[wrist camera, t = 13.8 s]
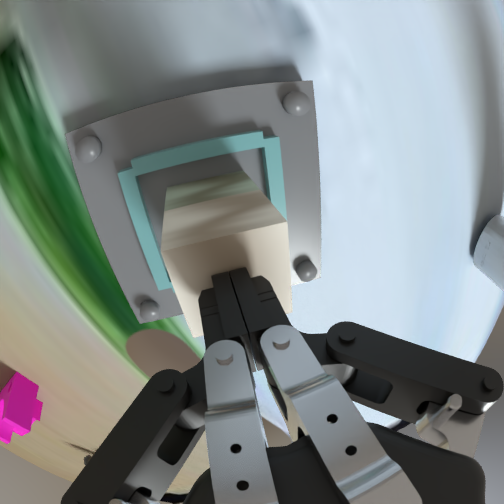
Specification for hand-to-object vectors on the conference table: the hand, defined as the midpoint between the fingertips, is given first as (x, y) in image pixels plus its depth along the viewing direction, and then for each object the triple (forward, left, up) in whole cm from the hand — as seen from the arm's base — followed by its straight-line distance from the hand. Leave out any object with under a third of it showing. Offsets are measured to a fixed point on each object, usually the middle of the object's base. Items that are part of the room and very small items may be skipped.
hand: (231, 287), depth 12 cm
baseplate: (0, 0, -10) cm, 10 cm away
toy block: (+35, +20, -10) cm, 42 cm away
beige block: (0, 0, -8) cm, 8 cm away
